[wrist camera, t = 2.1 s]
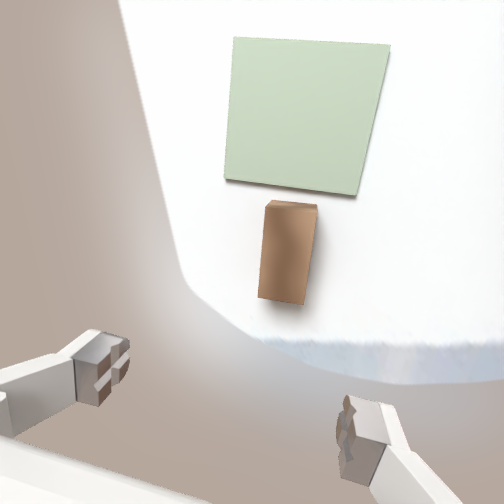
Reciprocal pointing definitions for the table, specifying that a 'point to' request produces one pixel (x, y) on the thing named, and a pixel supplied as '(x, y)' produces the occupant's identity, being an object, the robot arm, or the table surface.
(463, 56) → the table surface
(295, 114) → the rubber mat
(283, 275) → the box
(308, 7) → the table surface
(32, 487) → the robot arm
